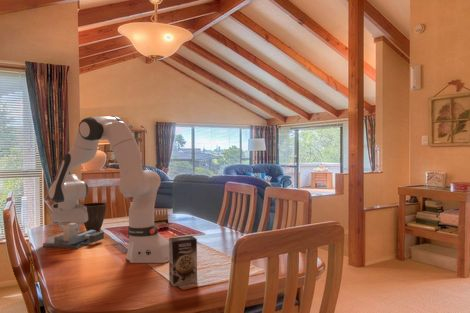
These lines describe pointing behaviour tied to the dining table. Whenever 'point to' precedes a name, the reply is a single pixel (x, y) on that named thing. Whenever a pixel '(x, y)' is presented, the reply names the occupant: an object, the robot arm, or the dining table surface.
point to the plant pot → (95, 215)
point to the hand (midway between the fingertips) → (70, 230)
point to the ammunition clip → (163, 217)
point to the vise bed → (63, 242)
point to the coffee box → (182, 260)
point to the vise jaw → (87, 237)
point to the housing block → (69, 231)
